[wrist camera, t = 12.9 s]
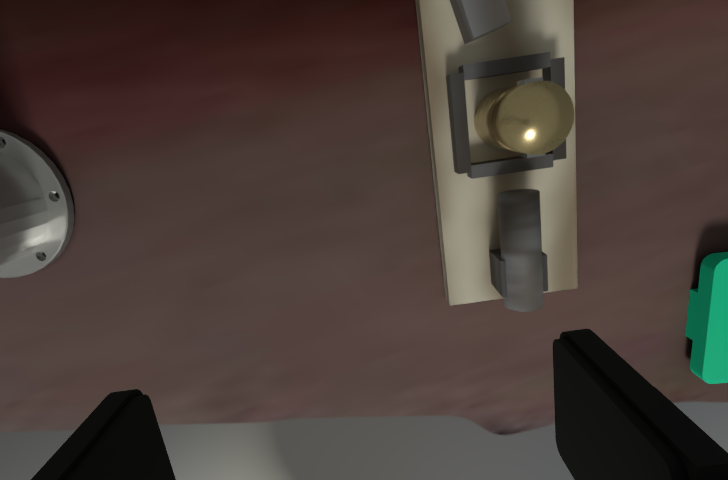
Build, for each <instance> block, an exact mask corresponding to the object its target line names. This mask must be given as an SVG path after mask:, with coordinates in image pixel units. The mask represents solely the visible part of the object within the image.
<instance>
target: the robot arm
mask: <svg viewBox="0 0 728 480" xmlns="http://www.w3.org/2000/svg"><path fill="white" fill-rule="evenodd" d="M73 225H74V207H73V201H72V198H71V194H70V190H69V188H68V186H67V184H66V182H65V180H64V178H63V176H62V174H61V173H60V171H59V170H58V168H57V167H56V166H55V164H54V163H53V162H52V161H51V160H50V159H49V158H48V157H47V156H46V155H45V153H44V152H43V151H41V150H40V149H39V148H37V147H36V146H35V145H33V144H32V143H31V142H29V141H28V140H26V139H24V138H22V137H20V136H18V135H16V134H14V133H11V132H8V131H5V130H2V129H0V278H11V277H20V276H24V275H28V274H31V273H33V272H36V271H38V270H40V269H42V268H44V267H46V266H47V265H49V264H51V263H52V262H53V261H55V260H56V259H57V258H58V257H59V256H60V255H61V254H62V252H63V251H64V249H65V248H66V246H67V244H68V243H69V240H70V237H71V234H72V231H73ZM553 368H554V399H555V429H556V443H557V448H558V451H559V453H560V456H561V457H562V459H563V461H564V463H565V464H566V466H567V468H568V469H569V471H570V473H571V474H572V476H573V477H574V479H575V480H728V453H727V452H726V451H725V450H724V449H723V448H722V447H720V446H719V445H718V444H717V443H716V442H715V441H714V440H712V438H710V437H709V436H708V435H707V434H706V433H705V432H704V431H703V430H702V429H700V428H699V427H698V426H697V425H696V424H695V423H694V422H693V421H692V420H691V419H689V418H688V417H687V416H686V415H685V414H684V413H683V412H682V411H681V410H679V409H678V408H677V407H676V406H675V405H674V404H673V403H672V402H671V401H670V400H668V399H667V398H666V397H665V396H664V395H663V394H662V393H661V392H660V391H659V390H657V389H656V388H655V387H653V386H652V385H651V384H650V383H649V382H648V381H647V380H645V379H644V378H643V377H642V376H641V375H640V374H639V373H638V372H637V371H636V370H634V369H633V368H632V367H631V366H630V365H629V364H628V363H627V362H626V361H625V360H623V359H622V358H621V357H620V356H619V355H618V354H617V353H616V352H615V351H614V350H612V349H611V348H610V347H609V346H608V345H607V344H606V343H605V342H604V341H602V340H601V339H600V338H599V337H598V336H597V335H596V334H595V333H594V332H593V331H591V330H590V329H581V330H574V331H567V332H562V333H561V335H560V339H556V340H554V342H553ZM31 480H176V479H175V476H174V473H173V470H172V467H171V463H170V460H169V457H168V454H167V451H166V447H165V444H164V441H163V438H162V435H161V432H160V429H159V425H158V422H157V419H156V416H155V413H154V410H153V406H152V403H151V400H150V398H149V397H148V396H147V395H143V394H142V392H141V391H140V390H137V389H135V390H127V391H120V392H113V393H110V394H109V395H108V396H107V397H106V398H105V399H104V400H103V401H102V402H101V403H100V404H99V405H98V407H97V408H96V409H95V410H94V411H93V412H92V413H91V414H90V415H89V416H88V418H87V419H86V420H85V421H84V422H83V423H82V424H81V425H80V426H79V427H78V429H77V430H76V431H75V432H74V433H73V434H72V435H71V436H70V437H69V438H68V440H67V441H66V442H65V443H64V444H63V445H62V446H61V447H60V448H59V449H58V451H57V452H56V453H55V454H54V455H53V456H52V457H51V458H50V459H49V461H47V463H46V464H45V465H44V466H43V467H42V468H41V469H40V470H39V471H38V472H37V474H36V475H35V476H34V477H33V478H32V479H31Z"/></svg>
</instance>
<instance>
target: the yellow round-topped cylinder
mask: <svg viewBox="0 0 728 480" xmlns="http://www.w3.org/2000/svg"><path fill="white" fill-rule="evenodd" d="M573 122H574V106H573V102H572V99H571V98H570V96H569V94H568V93H567V92H566V91H565V89H564V88H562V87H561V86H560V85H558V84H556V83H553V82H550V81H543V77H540V78H533V79H526V80H521V81H517V85H516V86H512V87H507V88H502V89H498V90H495V91H492V92H491V93H489V94H487V95H486V96H485V97H484V98H483V99H482V100H481V102H480V103H479V105H478V106H477V109H476V111H475V116H474V125H475V130H476V132H477V134H478V136H479V137H480V139H481V140H482V141H483V142H485V143H486V144H488V145H490V146H492V147H496V148H501V149H506V150H511V151H516V152H520V157H524V158H532V157H539V156H546V153H547V152H550V151H552V150H554V149H555V148H557V147H558V146H559V145H561V144H562V143H563V141H564V140H565V139H566V138H567V136H568V135H569V133H570V131H571V129H572V126H573Z"/></svg>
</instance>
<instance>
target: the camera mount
mask: <svg viewBox="0 0 728 480" xmlns="http://www.w3.org/2000/svg"><path fill="white" fill-rule="evenodd" d="M686 336H687V337H688V338H690V339H691V340H693V342H692V352H691V361H690V369H691V371H692V372H693V373H694V374H696V375H697V376H698V377H700V378H701V379H702V380H704V381H705V382H706V383H709V384H717V383H728V252H720V253H712V254H709V255H708V256H706V257H705V258H704V259H703V261H702V263H701V267H700V276H699V286H698V288H697V289H690V296H689V306H688V316H687V326H686Z"/></svg>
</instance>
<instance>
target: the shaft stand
mask: <svg viewBox="0 0 728 480" xmlns="http://www.w3.org/2000/svg"><path fill="white" fill-rule="evenodd" d="M415 2H416V12H417V22H418V32H419V42H420V52H421V61H422V71H423V81H424V91H425V101H426V111H427V121H428V130H429V140H430V150H431V160H432V170H433V180H434V190H435V199H436V209H437V219H438V229H439V239H440V249H441V259H442V269H443V278H444V288H445V297H446V299H447V301H448V303H449V305H458V304H465V303H472V302H480V301H487V300H494V299H502V298H504V305H505V306H506V307H507V308H508V309H511V310H514V311H521V312H528V311H535V310H538V309H540V308H542V307H543V305H544V294H543V293H545V292H553V291H560V290H567V289H575V288H578V285H577V216H576V147H575V78H574V9H573V0H415ZM540 77H543V81H550V82H553V83H556V84H558V85H560V86H561V87H562V88H564V89H565V91H566V92H567V93H568V94H569V96H570V98H571V99H572V102H573V106H574V122H573V126H572V129H571V131H570V133H569V135H568V136H567V138H566V139H565V140H564V141H563V143H562V144H561V145H559V146H558V147H557V148H555V149H554V150H552V151H550V152H547V153H546V156H539V157H532V158H524V157H520V152H516V151H511V150H506V149H501V148H496V147H492V146H490V145H488V144H486V143H485V142H483V141H482V140H481V139H480V137H479V136H478V134H477V132H476V130H475V125H474V116H475V111H476V109H477V106H478V105H479V103H480V102H481V100H482V99H483V98H484V97H485V96H486V95H487V94H489V93H491V92H492V91H495V90H498V89H502V88H507V87H512V86H516V85H517V81H521V80H526V79H533V78H540Z"/></svg>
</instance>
